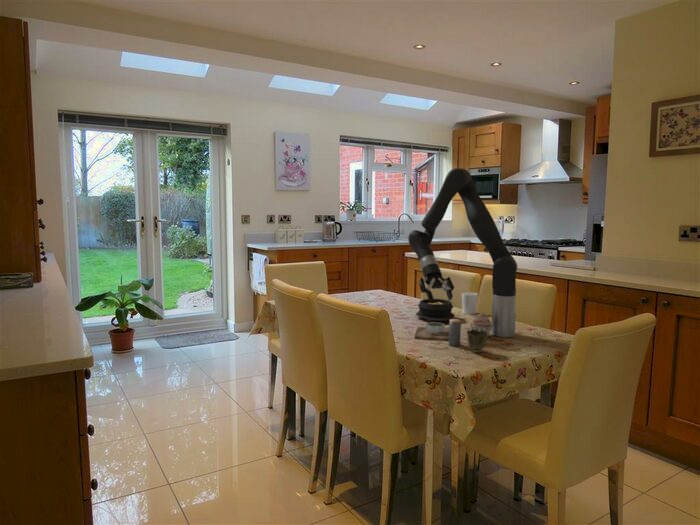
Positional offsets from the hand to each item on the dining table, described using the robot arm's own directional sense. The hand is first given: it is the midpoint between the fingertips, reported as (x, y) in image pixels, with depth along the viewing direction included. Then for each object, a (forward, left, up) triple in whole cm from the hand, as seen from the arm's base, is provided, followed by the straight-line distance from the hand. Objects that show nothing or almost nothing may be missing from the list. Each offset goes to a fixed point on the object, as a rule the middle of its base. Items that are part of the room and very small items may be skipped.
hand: (441, 299), depth 199 cm
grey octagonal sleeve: (+2, -4, -15) cm, 16 cm away
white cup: (-13, -50, -16) cm, 54 cm away
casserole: (+3, -35, -16) cm, 39 cm away
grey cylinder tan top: (-6, +10, -16) cm, 20 cm away
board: (+2, -4, -16) cm, 17 cm away
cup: (-14, +18, -16) cm, 28 cm away
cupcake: (-17, -6, -16) cm, 24 cm away
